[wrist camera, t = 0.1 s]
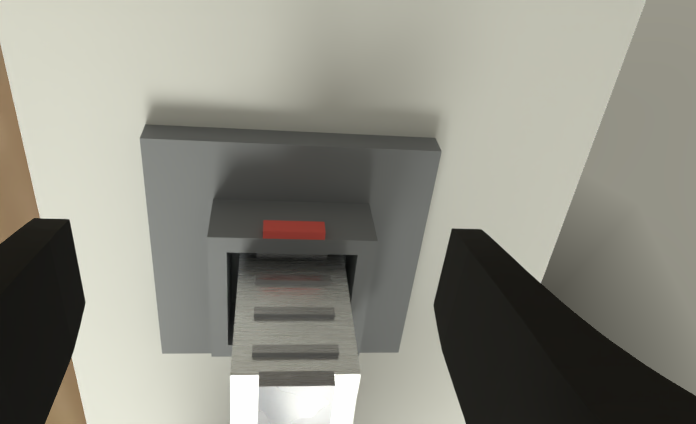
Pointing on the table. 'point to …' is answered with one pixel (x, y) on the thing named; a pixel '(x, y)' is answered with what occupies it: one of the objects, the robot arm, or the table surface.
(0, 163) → the table surface
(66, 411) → the table surface
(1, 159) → the table surface
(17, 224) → the table surface
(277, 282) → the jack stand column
